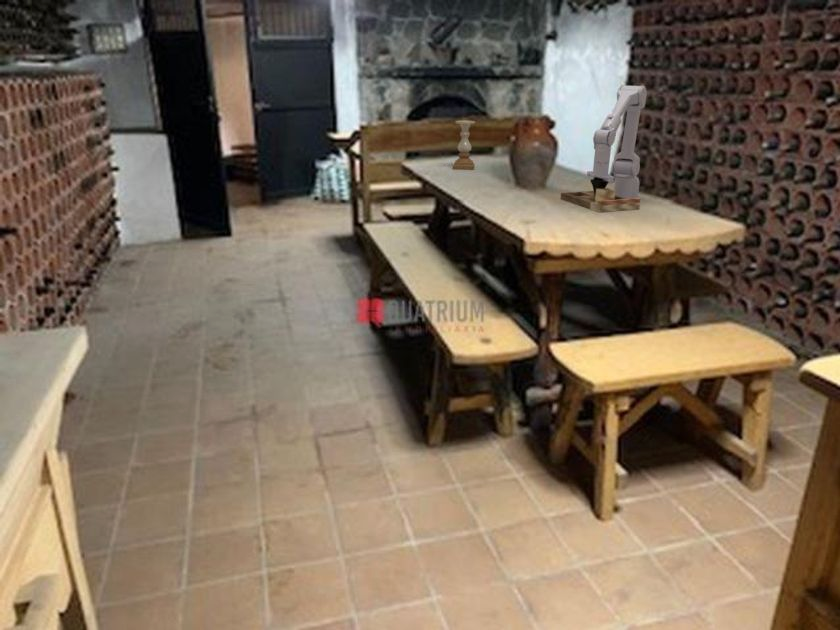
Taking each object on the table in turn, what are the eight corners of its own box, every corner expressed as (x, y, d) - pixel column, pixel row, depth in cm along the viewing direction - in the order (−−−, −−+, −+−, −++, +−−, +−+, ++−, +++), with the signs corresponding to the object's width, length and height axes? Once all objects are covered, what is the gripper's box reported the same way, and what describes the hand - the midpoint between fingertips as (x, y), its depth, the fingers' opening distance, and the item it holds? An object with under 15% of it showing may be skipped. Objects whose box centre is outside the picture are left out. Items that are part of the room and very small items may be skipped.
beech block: (605, 200, 251) (607, 187, 249) (613, 203, 246) (615, 190, 245) (594, 201, 249) (596, 188, 247) (602, 204, 245) (604, 190, 243)
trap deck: (597, 196, 273) (598, 186, 271) (639, 209, 249) (640, 198, 248) (560, 199, 267) (561, 189, 265) (599, 212, 243) (600, 201, 242)
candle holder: (454, 166, 350) (455, 120, 342) (474, 166, 349) (476, 120, 340) (453, 169, 340) (454, 121, 331) (474, 169, 339) (475, 122, 330)
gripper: (581, 160, 252) (578, 195, 256) (604, 165, 239) (600, 202, 244) (597, 159, 254) (593, 194, 259) (620, 164, 241) (616, 201, 246)
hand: (597, 198), depth 251 cm, fingers closed
